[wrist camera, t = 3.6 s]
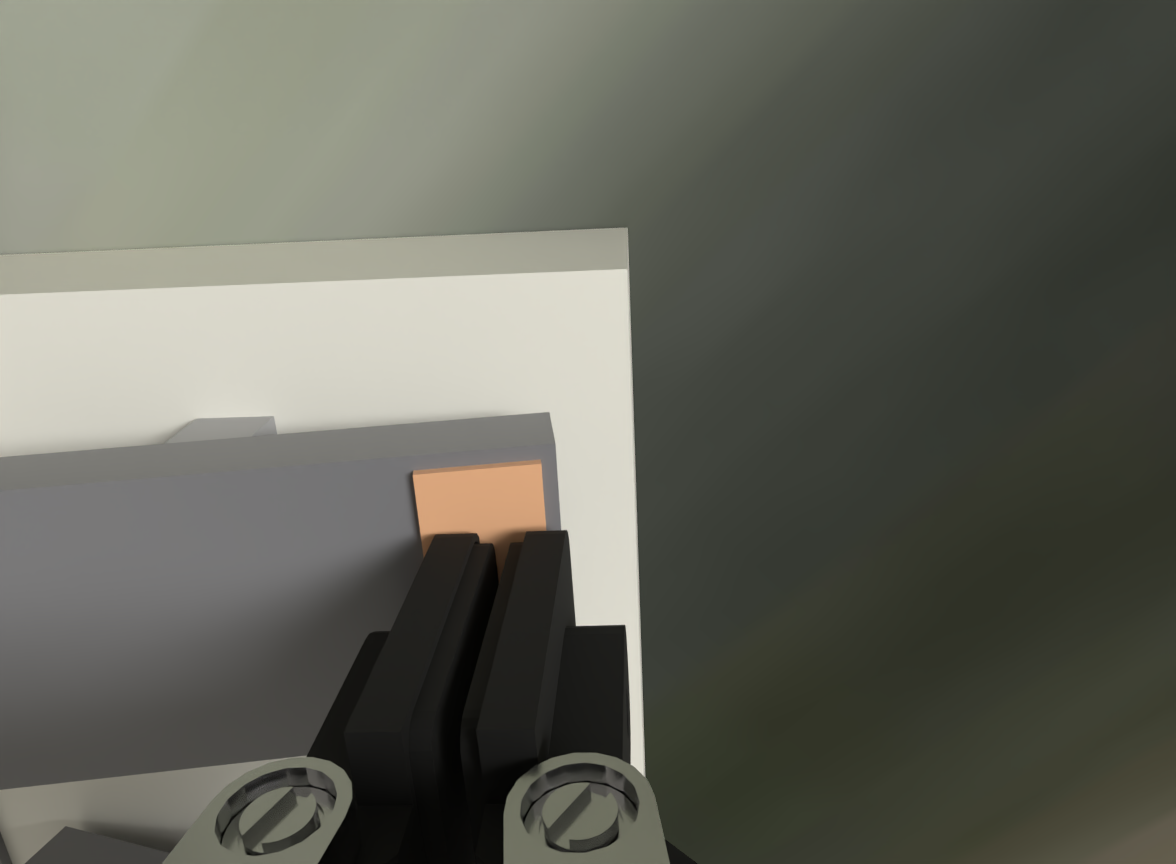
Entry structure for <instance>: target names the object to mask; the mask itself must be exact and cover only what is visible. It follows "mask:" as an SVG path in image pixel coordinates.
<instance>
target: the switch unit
mask: <svg viewBox="0 0 1176 864" xmlns="http://www.w3.org/2000/svg"><path fill="white" fill-rule="evenodd" d="M542 412H549V413H550V418H551V423H552V428H553V433H554V439H555V444H556V459H557V474H558V489H559V503H560V518H561V530H567V531H568V536H569V544H570V556H571V569H572V582H573V594H574V607H575V620H576V626H598V625H625V626H626V636H627V653H628V672H629V693H630V728H631V765H632V766H634V767H635V768H636V769H637V770H638V771H639V772H640V773H641V774H642V775H643V776H644V777H645V750H644V719H643V688H642V657H641V626H640V595H639V564H638V533H637V502H636V471H635V440H634V409H633V378H632V347H631V316H630V285H629V254H628V227H627V228H604V229H582V230H559V231H536V232H513V233H490V234H467V235H445V236H422V237H399V238H376V239H353V240H331V241H308V242H285V243H262V244H239V245H217V246H194V247H171V248H148V249H125V250H103V251H80V252H57V253H34V254H11V255H0V457H8V456H20V455H33V454H45V453H57V452H69V451H81V450H93V449H105V448H118V447H130V446H142V445H154V444H166V443H178V442H190V441H203V440H215V439H227V438H239V437H251V436H263V435H275V434H287V433H300V432H312V431H324V430H336V429H348V428H360V427H372V426H385V425H397V424H409V423H421V422H433V421H445V420H457V419H470V418H482V417H494V416H506V415H518V414H530V413H542ZM298 757H306V756H298ZM289 758H297V757H289ZM283 759H288V758H280V759H272V760H263V761H254V762H245V763H236V764H227V765H218V766H209V767H200V768H191V769H182V770H173V771H164V772H156V773H147V774H138V775H129V776H120V777H111V778H102V779H93V780H84V781H75V782H66V783H57V784H48V785H39V786H31V787H22V788H13V789H4V790H0V864H25V863H26V862H27V861H28V860H29V859H30V858H31V857H32V856H33V855H35V854H36V853H37V852H38V851H39V850H40V849H41V848H42V847H43V846H44V845H45V844H47V843H48V842H49V841H50V840H51V839H52V838H53V837H54V836H55V835H56V834H57V833H59V832H60V831H61V830H62V829H63V828H64V827H65V826H67V827H71V828H75V829H79V830H83V831H87V832H90V833H94V834H98V835H102V836H106V837H110V838H114V839H118V840H122V841H125V842H129V843H133V844H137V845H141V846H145V847H149V848H153V849H157V850H161V851H164V852H168V853H171V851H172V850H173V849H174V847H175V846H176V845H177V844H178V842H179V841H180V840H181V839H182V837H183V836H184V835H185V834H186V832H187V831H188V830H189V828H190V827H191V826H192V825H193V823H194V822H195V821H196V820H197V818H198V817H199V816H200V814H201V813H202V812H203V811H204V809H205V808H206V807H207V806H208V804H209V803H210V802H211V801H212V800H213V799H214V798H215V797H216V796H217V795H218V794H219V793H220V792H221V791H222V790H223V789H224V788H225V787H226V786H227V785H228V784H230V783H231V782H233V781H234V780H236V779H237V778H239V777H240V776H242V775H243V774H245V773H247V772H249V771H251V770H253V769H256V768H258V767H260V766H263V765H265V764H267V763H271V762H275V761H279V760H283Z"/></svg>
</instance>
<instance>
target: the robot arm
mask: <svg viewBox="0 0 1176 864" xmlns="http://www.w3.org/2000/svg"><path fill="white" fill-rule="evenodd" d="M162 864H697V863H696V862H695V861H693V860H692V859H691V858H689V857H688V856H687V855H685V854H684V853H683V852H681V851H680V850H679V849H677V848H676V847H675V846H673V845H672V844H671V843H669V842H668V841H667V840H665V839H664V835H663V830H662V826H661V821H660V817H659V812H658V808H657V803H656V799H655V795H654V793H653V791H652V789H651V786H650V784H649V782H648V780H647V779H646V778H645V777H644V776H643V775H642V774H641V773H640V772H639V771H638V770H637V769H636V768H635V767H634V766H632V765H631V728H630V693H629V672H628V653H627V636H626V626H625V625H598V626H576V620H575V607H574V594H573V582H572V569H571V556H570V544H569V536H568V531H567V530H555V531H526V534H525V537H524V541H523V542H513V543H510V546H509V550H508V553H507V557H506V560H505V564H504V568H503V571H502V575H501V578H500V582H499V581H498V572H497V563H496V555H495V549H494V545H493V544H492V543H483V544H480V539H479V536H478V534H477V533H466V534H436V535H435V536H434V538H433V540H432V542H431V544H430V546H429V548H428V550H427V553H426V555H425V557H424V559H423V561H422V563H421V566H420V568H419V570H418V572H417V574H416V576H415V579H414V581H413V583H412V585H411V587H410V589H409V592H408V594H407V596H406V598H405V600H404V602H403V605H402V607H401V609H400V611H399V613H398V615H397V618H396V620H395V622H394V624H393V626H392V628H391V631H374V632H372V633H369V635H368V636H367V638H366V639H365V641H364V643H363V645H362V647H361V649H360V651H359V653H358V655H357V657H356V659H355V661H354V663H353V665H352V667H351V669H350V671H349V673H348V675H347V677H346V679H345V681H344V683H343V685H342V687H341V689H340V691H339V693H338V695H337V697H336V699H335V701H334V703H333V705H332V707H331V709H330V711H329V713H328V715H327V717H326V719H325V721H324V723H323V725H322V727H321V729H320V731H319V733H318V735H317V737H316V738H315V740H314V742H313V744H312V746H311V748H310V750H309V752H308V754H307V756H306V757H297V758H288V759H283V760H279V761H275V762H271V763H267V764H265V765H263V766H260V767H258V768H256V769H253V770H251V771H249V772H247V773H245V774H243V775H242V776H240V777H239V778H237V779H236V780H234V781H233V782H231V783H230V784H228V785H227V786H226V787H225V788H224V789H223V790H222V791H221V792H220V793H219V794H218V795H217V796H216V797H215V798H214V799H213V800H212V801H211V802H210V803H209V804H208V806H207V807H206V808H205V809H204V811H203V812H202V813H201V814H200V816H199V817H198V818H197V820H196V821H195V822H194V823H193V825H192V826H191V827H190V828H189V830H188V831H187V832H186V834H185V835H184V836H183V837H182V839H181V840H180V841H179V842H178V844H177V845H176V846H175V847H174V849H173V850H172V851H171V853H170V854H169V855H168V856H167V858H166V859H165V860H164V861H163V863H162Z"/></svg>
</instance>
